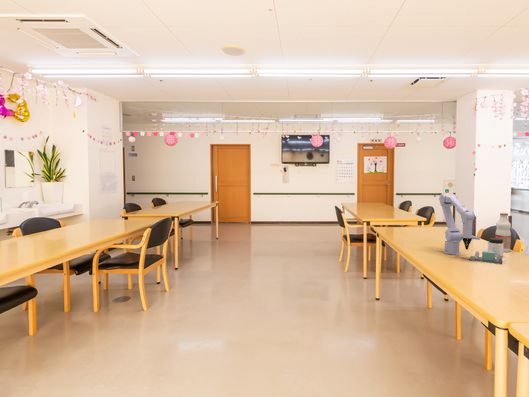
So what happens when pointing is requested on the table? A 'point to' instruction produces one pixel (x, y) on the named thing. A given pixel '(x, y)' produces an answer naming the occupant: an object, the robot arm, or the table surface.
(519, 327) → the table surface
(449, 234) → the robot arm
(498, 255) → the vise
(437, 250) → the table surface
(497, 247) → the jar
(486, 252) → the block
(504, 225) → the fruit juice
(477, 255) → the jaw
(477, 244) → the table surface
